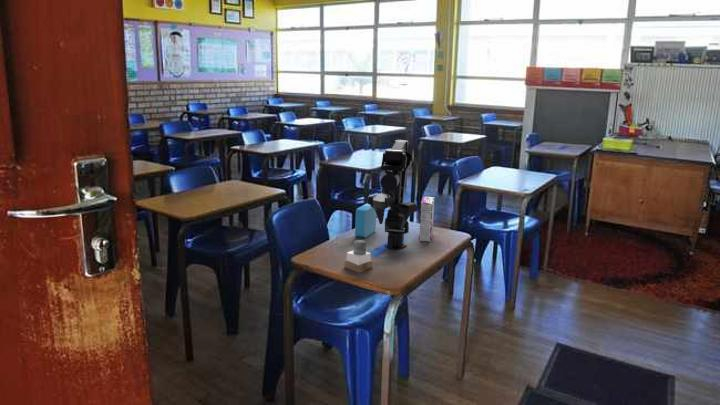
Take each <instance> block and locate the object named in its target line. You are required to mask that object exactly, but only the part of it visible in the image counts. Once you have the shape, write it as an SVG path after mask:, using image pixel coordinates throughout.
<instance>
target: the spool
mask: <svg viewBox="0 0 720 405" xmlns="http://www.w3.org/2000/svg"><path fill="white" fill-rule="evenodd" d="M353 250H354V252H353V253H354V254H356V255H364V254H366V252H367V241H366V240H363V239H356V240H354V241H353Z"/></svg>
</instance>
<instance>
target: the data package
mask: <svg viewBox="0 0 720 405" xmlns="http://www.w3.org/2000/svg"><path fill="white" fill-rule="evenodd" d="M354 225H355V226H354V227H355V228H354V235H355V236H356V237H357V238H359V237H360V238H364V239H365V238H368V237H369V236H371V235H372V234H373V233H375V231H376V229H377V228H376V227H377V214H376V211H375V209H373V208H372V207H371V206H370V204H367V203H365V204H363V205H361V206H359V207H358V208H356V210H355V224H354Z"/></svg>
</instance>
